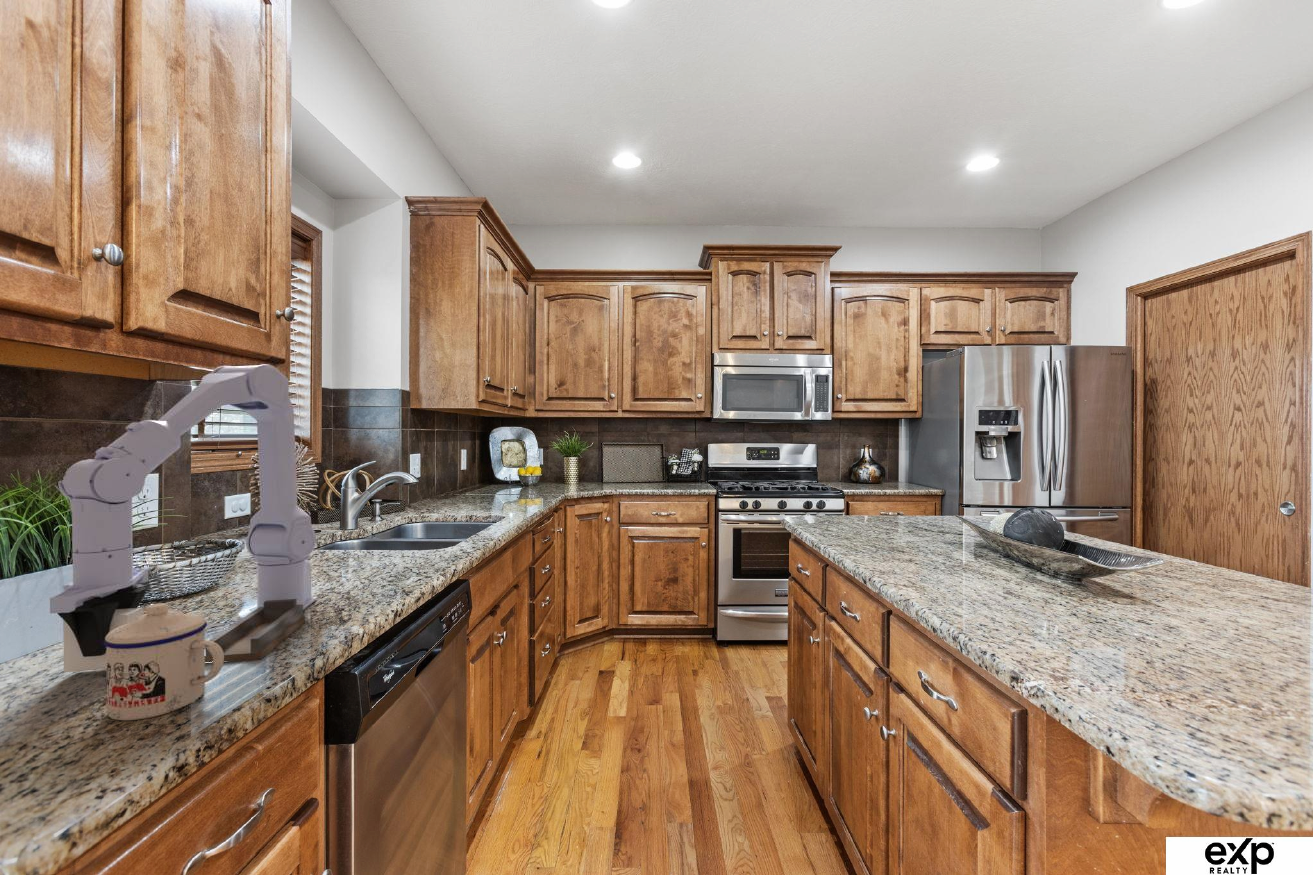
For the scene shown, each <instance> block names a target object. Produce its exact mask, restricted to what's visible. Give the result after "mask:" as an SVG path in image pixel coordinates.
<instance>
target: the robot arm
mask: <svg viewBox="0 0 1313 875" xmlns="http://www.w3.org/2000/svg"><path fill="white" fill-rule="evenodd" d="M289 388H290V387H289V378H288V377H287V376H286V375H285V374H284V373H283V372H282V371H280V370H279V369H278V368H277V367H276V366H273V365H271V364H259V365H240V366H239V365H237V366H233V365H232V366H231V365H220V366H218V367H216V368H214V369H213V370H212V371H211V372H210V373H208V374H206V375H204V376H202V378H201V381H200V382H199V384H198V385H197V386H196V387H195V388H193V389H192V390H190V392H189V393H187V395H185V396H184V397H183V398H182V399H181V400H180V401H178V402H177V403H176V404H175V405H173V407H171V408H170V409H169V410H167V412H166V413H165V414H163V415H162V416H161V417H160V418H159V419H158V420H154V419H153V420H152V419H145V420H142V421H140V422H131V423H129V424H128V425H127V426H125V430H126V432H125V433H123V435H121V436H119V438H117V439H115V440H114V441H113V442H112V443H110V444H108V446H107V447H106V446H102V447H100V448H98V449H97V450H95V454H96V455H95V456H94V458H93V459H91V458H89V459H87V458H86V460H85V459H83V460H80V461H77V462H76V463H74V464H72V465H71V466H70V467H69V468H67V470H66V471H65V474H64V476H63V479H62V480H59V481H58V488H59V490H60V493H61V494H62V495H63V497H65V498H66V499H68V501H69V504H70V512H71V524H72V525H71V529H72V531H71V532H72V533H71V534H72V536H71V541H72V544H71V546H72V581H71V582H68V583H65V584H63V585H62V586H63V587H62V589H63V591H61V592H60V593H58V594H57V595H54V596H52V597H50V598H49V614H57V615H58V616H59V618H61V619H62V620H64V621H65V622H66V623H67V624H68V625H69V627H70V628H71V630H72V631H73V633H74V635H75V637H76V639H77V642H78V644H79V647H80V650H81V652H82V655H83V657H90V656H101V655H104V654H105V653H106V650H107V646H105V645H104V640H105V637H106V636H107V634H108V633H109V629H110V625H111V621H112V618H113V615H114V613H115V610H116V609H129V608H139V607H138V606H139V604H140V603H141V601H142V600H143V599H144V597H145V595H146V592H147V591H146V588H145V587H135V588H134V587H133V586H135V585H137V584H145V583H147V582H149V568H148V567H147V568H145V567H144V568H134V553H133V548H134V547H133V540H134V539H133V498H134V497H136V496H138V495H140V494H141V492H142V490H143V489H144V486H145V482H146V478H147V477H148V476H149V474H151V473H152V472H153V471H154V470H155V469H156V468H157V467H159V466H160V465H161V464H163V463H164V462H165V461H166V460H167V459H169V457H171V456H172V455H173V454H174V453H176V452H177V451H178V450H179V449H180V448H181V446H182V441H181V436H183V435H184V434H185V433H186V432H188V431H190V430H191V429H192V428H193V427H195V426H196V425H198V424H199V423H201V422H202V421H203V420H205V419H206V418H208V417H209V416H210V415H211V414H213V413H214V412H216V411H217V410H218V409H220V408H221V407H223V406H228V405H229V406H232V407H234V408H236V409H238V410H239V409H240V410H241V411H243V412H244V413H246V414H247V415H249V416H250V417H252V418H253V419H254V420H255V421H256V427H257V428H256V429H257V431H256V432H257V453H258V454H257V455H258V474H259V477H258V478H259V479H258V480H259V500H260V502H259V504H260V508H259V510H258V511H257V512H256V513H254V515H253V516H252V517H251V518H250V520H249V521H250V522H249V524H250V525H249V527H250V528H249V531H248V534H247V536H246V540H245V546H246V547H245V548H246V550H247V552H248V553H249V554H250V555H251V556H252V557H253V558H254V560H253V561H254V562H255V563H257V565H256V567H257V568H256V569H257V570H256V571H257V572H256V573H257V575H256V577H257V580H256V581H257V582H256V583H257V586H256V587H257V589H256V590H257V591H256V592H257V594H256V595H257V598H256V599H257V601H256V602H257V603H256V605H257V608H259V607H264V602H265V601H269V600H286V599H297V605H301V604H303V611H304V610H305V609H306V608H308V606H310V605H311V604H313V603H314V602H315V601H316V600H318V597H317V596H312V566H311V563H310V561H309V557H310V555H311V554H312V552H313V551H314V549H315V546H316V543H317V534H316V532H315V530H314V528H313V525H312V517H311V515H310V514H308V513H307V512H306V511H304V510H303V509H302V508H301V507H299V505H298V490H297V486H298V485H297V484H298V483H297V464H296V462H297V461H296V436H295V435H296V434H295V411H294V406H293V404H292V402H291V399H290V391H289ZM257 608H255V609H254V610H256V609H257ZM254 610H252V611H251V612H253V611H254ZM251 612H249V613H248V614H250V613H251Z"/></svg>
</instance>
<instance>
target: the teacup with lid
mask: <svg viewBox="0 0 1313 875" xmlns="http://www.w3.org/2000/svg"><path fill="white" fill-rule="evenodd" d="M207 626H208V624H207V621H206V619H205V618H204V617H203V616H201V615H199V614H191V613H190V614H189V613H183V612H180V611H177V610H172V609H171V610H169V605H168V603H163V602H162V603H155V604H154V603H153V604H151V605H148V606H147V607H146V609H145V614H143V615H142V616H139V617H137V618H136V619H134V620H133V621H131V622H130V623H128V624H125V625H122V626H120V627H118V628H115V629H114V630H112V631H110V632H109V633H108V634H107V636H106V637H105V640H104V645H105V646H107V669H106V714H107V716H108V717H109V718H111V719H113V720H118V721H137V720H143V719H150V718H154V717H159V716H162V715H166V714H169V713H171V712H170V711H172V712H174V710H175V711H177V709H178V710H180V709H182V708H181V707H183V706H185V707H187V706H188V705H187V704H189V705H191V704H193V703H194V702H196V701H197V700H199V699H198V698H199V697H200V698H201V697H202V696H203V695H204V692H205V688H206V687H205V684H206V683H208V682H209V681H211V680H213V679H214V678H216V677H217V676H218V675H219V674H220V672H221V670H222V668H223V665H224V663H225V662H224V653H223V650H222V648H221V647H220V646H219V645H218V644H217V643H215V642H213V641H208V640H206V639H205V629H206V627H207ZM206 650H207V651H209V652H210V653H211V655H212V657H213V663H211V664H212V665H211V669H210V671H209V672H208V673H207V674H205V673H206V672H205V669H206V668H205V666H206V664H205V655H206ZM201 695H202V696H201ZM196 699H197V700H196ZM195 700H196V701H195ZM193 701H194V702H193ZM192 702H193V703H192ZM190 703H191V704H190ZM186 705H187V706H186ZM179 708H180V709H179ZM183 708H184V707H183ZM168 712H169V713H168ZM165 713H166V714H165Z"/></svg>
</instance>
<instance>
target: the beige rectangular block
mask: <svg viewBox="0 0 1313 875" xmlns="http://www.w3.org/2000/svg"><path fill="white" fill-rule="evenodd" d="M142 615H144V612H143V607H137V608H129V609H116V610H115V613H114V615H113V618H112V621H111V625H110V629H109V632H110V631H112V630H114V629H115V628H118V627H120V626H122V625H125V624H128V623H130V622H131V621H133V620H134V619H136V618H137V617H139V616H142ZM62 620H63V619H62ZM62 624H63V625H62V626H63V673H70V672H84V671H85V672H86V671H94V670H95V671H97V670H107V650H106V653H105V654H104V655H101V656H90V657H83V655H82V652H81V650H80V647H79V644H78V642H77V639H76V637H75V635H74V633H73V631H72V630H71V628H70V627H69V625H68V624H67V623H66V622H65V621H64V620H63V623H62Z"/></svg>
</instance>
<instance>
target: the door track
mask: <svg viewBox="0 0 1313 875" xmlns="http://www.w3.org/2000/svg"><path fill="white" fill-rule="evenodd" d="M255 609H256V610H255ZM255 609H254V610H252V611H253V612H252V611H250V612H249V613H250V614H249V613H248V614H246V615H245V616H243V617H242V618H240V619H238V620H237V621H236V622H235V623H233V624H231V625H230V626H228V627H227V628H225V629H223V630H221V631H220V632H219V633H217V634H216V635H214V636H213V637H212V638H210V639H208V640H207V641H213V642H215V643H217V644H218V645H219V646H220V647H221V648H222V650H223V653H224V661H234V662H243V661H244V662H245V661H256V660H262V659H263V658H264V657H266V656H267V654H269V653H270V652H272V651H273V650H274V649H275V648H277V646H278V645H280V644H281V643H282V642H283V641H284V640H285V639H287V638H288V637H289V636H290V635H291V634H293V633H294V632H295V631H296V630H297V629H299V628H300V627H301V626H302V625H303V624H305V622H306V616H305V615H304V610H303V604H301V605H297V599H286V600H269V601H265V602H264V607H259V608H258V607H257V608H255ZM212 661H213V657H212V655H211V653H210V652H209V651H207V650H205V662H212Z"/></svg>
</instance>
